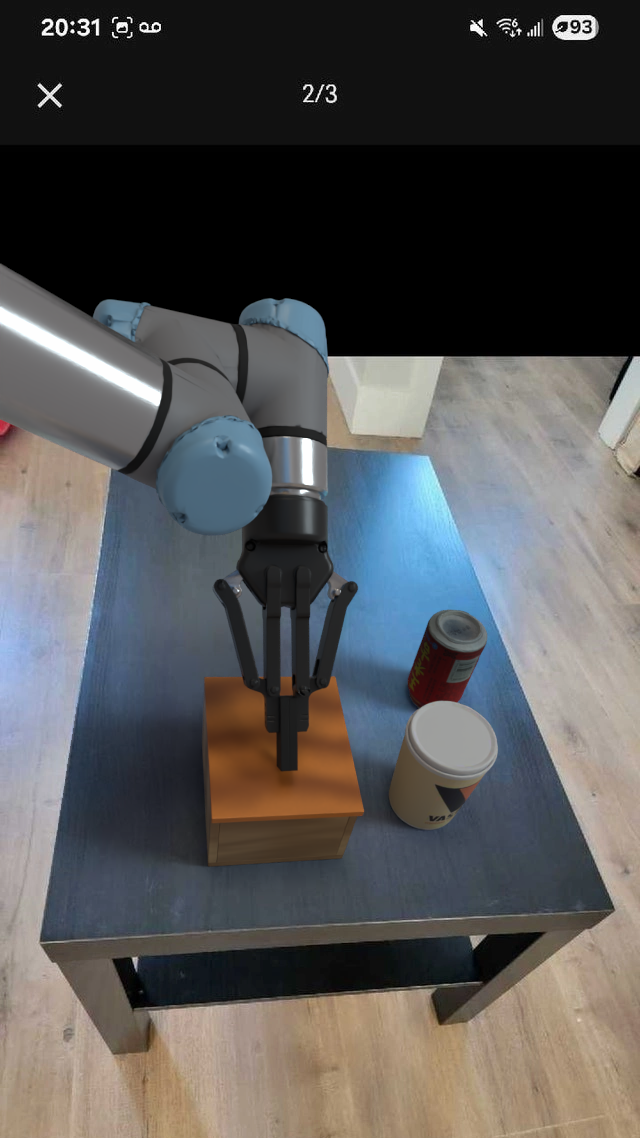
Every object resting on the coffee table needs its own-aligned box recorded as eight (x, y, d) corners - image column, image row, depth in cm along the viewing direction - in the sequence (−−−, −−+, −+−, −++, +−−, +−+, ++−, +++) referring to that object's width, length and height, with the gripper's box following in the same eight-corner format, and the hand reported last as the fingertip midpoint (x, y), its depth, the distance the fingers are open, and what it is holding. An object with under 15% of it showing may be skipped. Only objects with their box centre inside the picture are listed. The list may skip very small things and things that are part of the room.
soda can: (469, 704, 87) (502, 635, 78) (428, 725, 84) (457, 655, 74) (433, 668, 90) (461, 597, 81) (392, 687, 87) (416, 615, 78)
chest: (342, 858, 70) (361, 807, 63) (207, 867, 67) (210, 814, 60) (320, 737, 80) (334, 681, 72) (201, 740, 77) (204, 682, 70)
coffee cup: (424, 853, 72) (458, 789, 63) (363, 792, 76) (388, 724, 67) (479, 808, 77) (519, 743, 68) (420, 753, 81) (450, 684, 72)
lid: (362, 816, 62) (364, 811, 61) (211, 823, 59) (211, 818, 59) (334, 681, 72) (335, 676, 72) (204, 681, 70) (204, 676, 69)
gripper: (346, 511, 65) (346, 758, 67) (206, 506, 62) (211, 764, 64) (368, 494, 57) (368, 772, 59) (211, 487, 55) (216, 779, 57)
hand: (287, 768), depth 62 cm, fingers closed
